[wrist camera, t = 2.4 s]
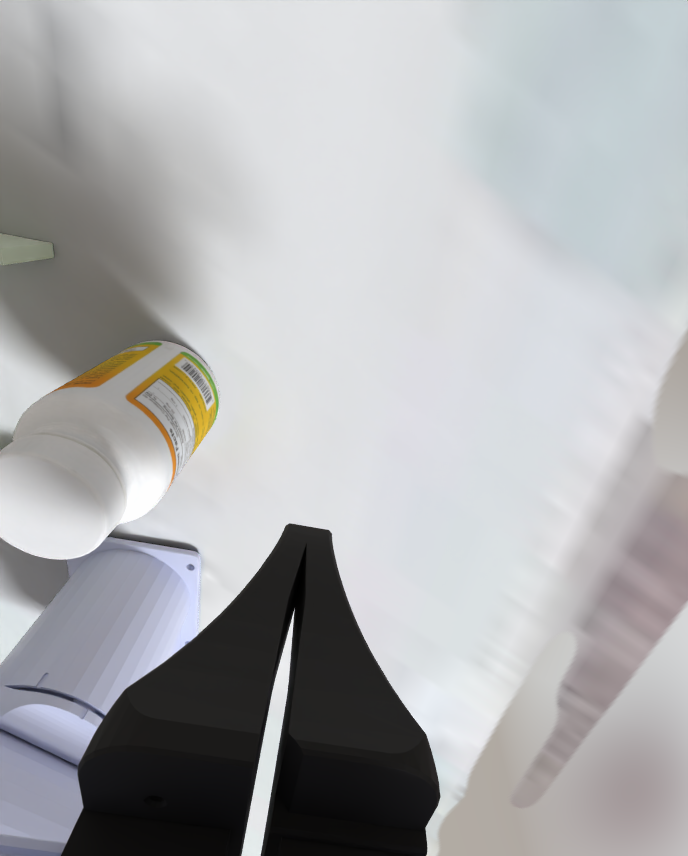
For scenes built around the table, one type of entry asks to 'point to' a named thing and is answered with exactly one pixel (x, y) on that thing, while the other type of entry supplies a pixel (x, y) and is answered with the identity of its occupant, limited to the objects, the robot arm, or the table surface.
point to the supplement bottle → (103, 448)
